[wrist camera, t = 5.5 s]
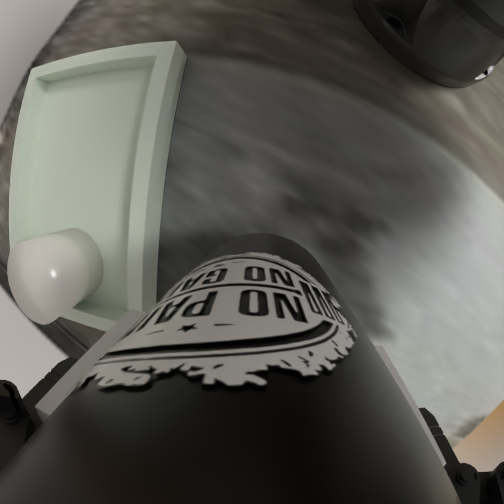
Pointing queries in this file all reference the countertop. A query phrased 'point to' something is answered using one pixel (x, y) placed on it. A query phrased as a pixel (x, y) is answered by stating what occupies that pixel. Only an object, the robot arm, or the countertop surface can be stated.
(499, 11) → the robot arm
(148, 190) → the tray
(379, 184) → the countertop surface
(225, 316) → the water bottle
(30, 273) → the white domed cylinder
